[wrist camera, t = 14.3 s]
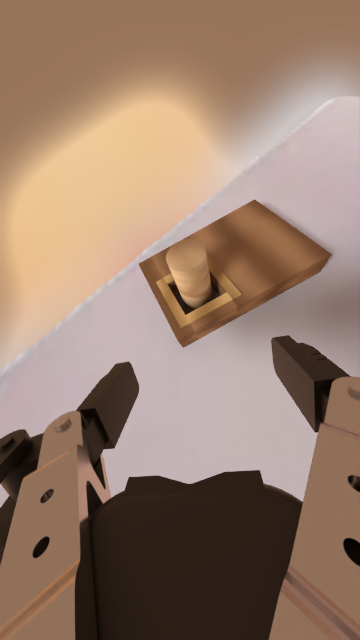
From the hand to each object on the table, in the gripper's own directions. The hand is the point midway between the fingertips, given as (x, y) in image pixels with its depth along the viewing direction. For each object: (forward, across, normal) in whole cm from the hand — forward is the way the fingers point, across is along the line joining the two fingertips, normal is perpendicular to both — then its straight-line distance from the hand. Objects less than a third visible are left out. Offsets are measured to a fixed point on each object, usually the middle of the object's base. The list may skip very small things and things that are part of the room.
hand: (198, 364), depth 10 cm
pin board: (+19, -4, -2) cm, 19 cm away
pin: (+16, 0, 0) cm, 16 cm away
